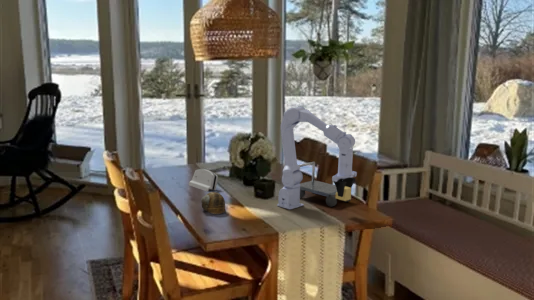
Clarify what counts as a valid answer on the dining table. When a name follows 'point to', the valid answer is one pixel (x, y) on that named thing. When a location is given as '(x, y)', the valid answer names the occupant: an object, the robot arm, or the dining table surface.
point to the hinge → (204, 180)
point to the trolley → (319, 188)
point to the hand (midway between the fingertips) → (343, 195)
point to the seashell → (213, 203)
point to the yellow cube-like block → (345, 194)
